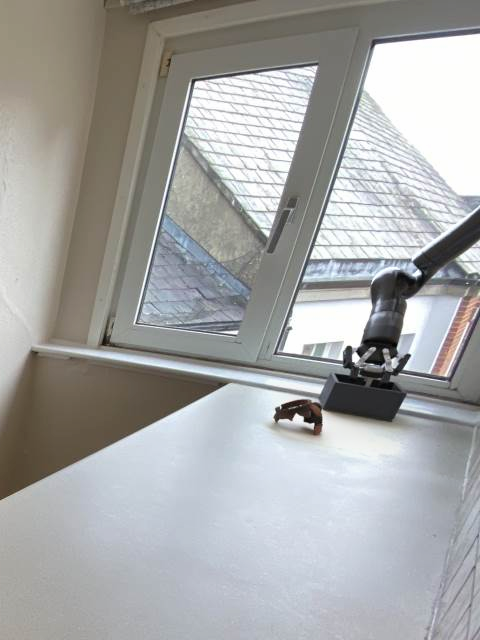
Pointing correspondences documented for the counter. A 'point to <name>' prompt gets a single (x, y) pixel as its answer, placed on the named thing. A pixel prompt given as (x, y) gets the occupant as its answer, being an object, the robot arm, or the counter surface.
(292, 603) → the counter surface
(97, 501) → the counter surface
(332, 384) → the dark grey open box
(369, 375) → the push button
